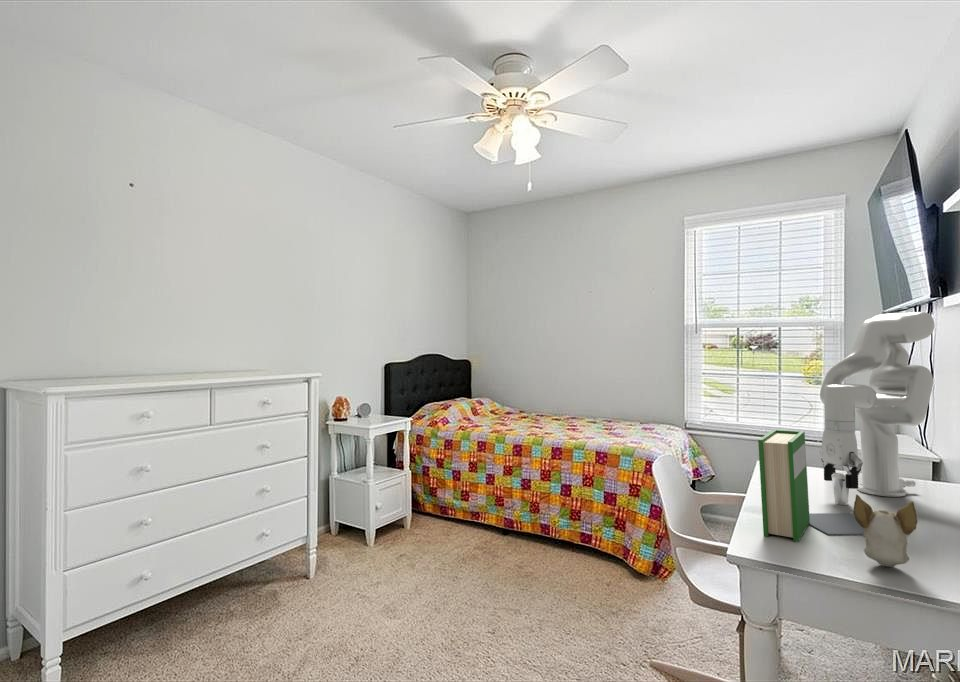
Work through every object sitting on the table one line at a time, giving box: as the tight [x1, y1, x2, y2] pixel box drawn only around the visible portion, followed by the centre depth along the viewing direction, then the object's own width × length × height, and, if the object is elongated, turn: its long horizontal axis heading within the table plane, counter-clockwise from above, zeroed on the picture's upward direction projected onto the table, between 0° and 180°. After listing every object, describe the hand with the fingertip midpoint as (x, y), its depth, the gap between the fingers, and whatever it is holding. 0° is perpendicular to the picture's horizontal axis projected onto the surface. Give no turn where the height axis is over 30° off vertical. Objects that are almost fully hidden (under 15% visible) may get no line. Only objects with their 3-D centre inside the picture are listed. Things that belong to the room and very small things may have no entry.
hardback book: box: [757, 429, 810, 543], centre depth 133 cm, size 18×7×24 cm, turn 140°
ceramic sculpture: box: [852, 494, 918, 568], centre depth 109 cm, size 11×9×15 cm
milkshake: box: [831, 472, 850, 506], centre depth 154 cm, size 4×5×10 cm
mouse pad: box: [808, 512, 911, 536], centre depth 136 cm, size 20×16×1 cm
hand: (840, 484), depth 153 cm, fingers open, 9 cm apart
